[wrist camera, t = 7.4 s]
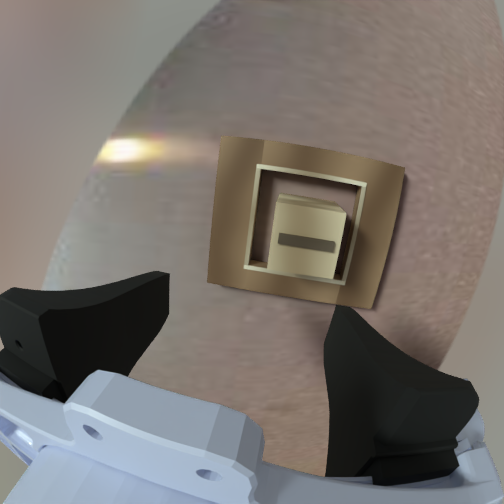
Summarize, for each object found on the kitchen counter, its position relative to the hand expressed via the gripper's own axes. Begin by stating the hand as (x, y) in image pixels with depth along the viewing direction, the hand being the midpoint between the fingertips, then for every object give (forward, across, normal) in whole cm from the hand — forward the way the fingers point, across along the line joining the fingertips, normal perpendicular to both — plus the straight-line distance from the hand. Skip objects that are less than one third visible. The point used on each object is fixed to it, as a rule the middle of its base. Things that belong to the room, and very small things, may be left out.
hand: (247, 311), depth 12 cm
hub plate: (+10, -2, -2) cm, 11 cm away
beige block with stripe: (+10, -2, -2) cm, 11 cm away
